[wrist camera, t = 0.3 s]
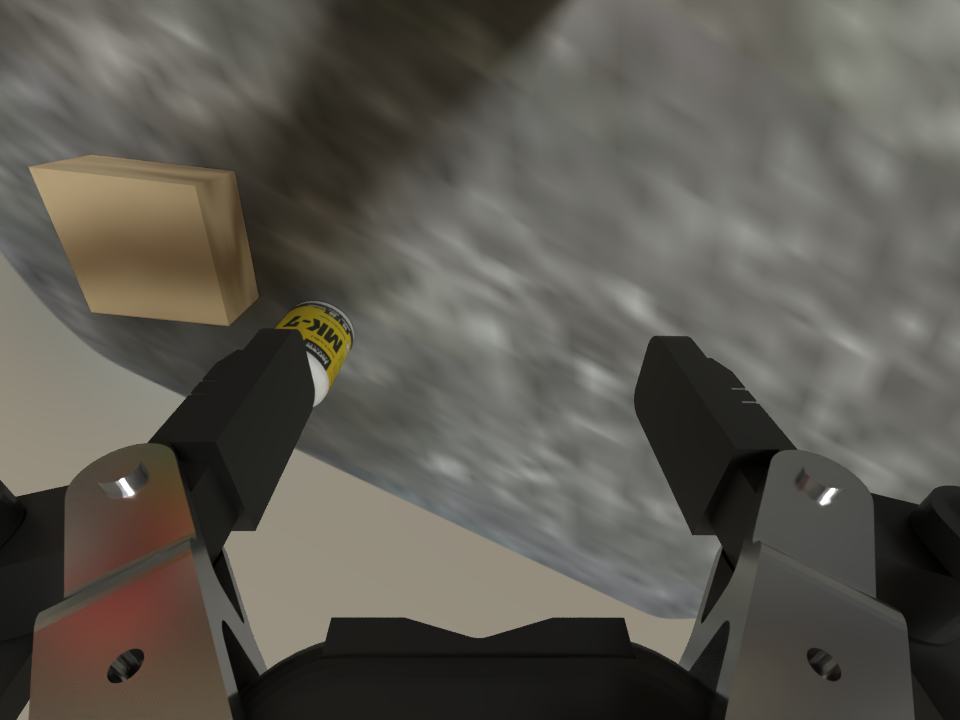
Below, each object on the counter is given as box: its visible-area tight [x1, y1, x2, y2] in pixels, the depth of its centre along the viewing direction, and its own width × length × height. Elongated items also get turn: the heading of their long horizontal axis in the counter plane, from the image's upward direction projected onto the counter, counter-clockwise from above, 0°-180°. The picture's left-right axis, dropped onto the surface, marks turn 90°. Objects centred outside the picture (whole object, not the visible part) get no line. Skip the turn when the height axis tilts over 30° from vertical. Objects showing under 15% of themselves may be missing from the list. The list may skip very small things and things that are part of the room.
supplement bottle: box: [274, 301, 354, 407], centre depth 27 cm, size 5×5×8 cm
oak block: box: [29, 155, 259, 326], centre depth 25 cm, size 8×8×4 cm
